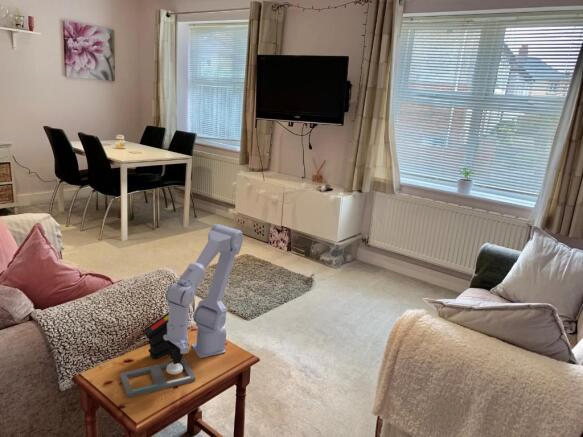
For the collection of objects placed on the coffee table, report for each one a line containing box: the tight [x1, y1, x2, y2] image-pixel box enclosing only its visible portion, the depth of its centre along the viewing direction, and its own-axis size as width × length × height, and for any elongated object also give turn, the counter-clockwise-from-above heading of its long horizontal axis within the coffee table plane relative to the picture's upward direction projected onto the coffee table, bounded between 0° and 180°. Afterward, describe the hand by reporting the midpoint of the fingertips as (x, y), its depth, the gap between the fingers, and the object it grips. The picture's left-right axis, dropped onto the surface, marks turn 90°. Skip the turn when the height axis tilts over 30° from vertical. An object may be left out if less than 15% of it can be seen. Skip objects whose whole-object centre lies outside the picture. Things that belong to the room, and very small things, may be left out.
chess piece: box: [165, 363, 184, 375], centre depth 133 cm, size 5×5×10 cm
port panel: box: [119, 358, 196, 398], centre depth 132 cm, size 20×10×1 cm, turn 122°
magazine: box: [143, 311, 170, 361], centre depth 142 cm, size 4×13×15 cm, turn 133°
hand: (175, 360), depth 133 cm, fingers closed on chess piece
